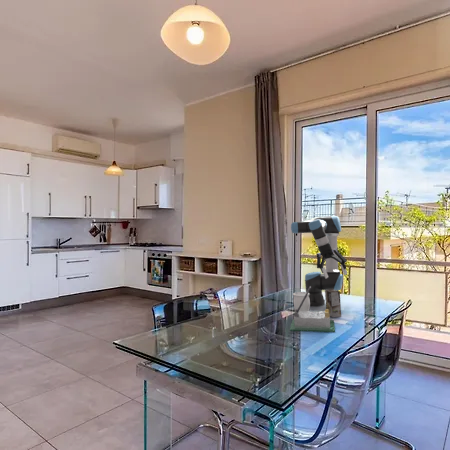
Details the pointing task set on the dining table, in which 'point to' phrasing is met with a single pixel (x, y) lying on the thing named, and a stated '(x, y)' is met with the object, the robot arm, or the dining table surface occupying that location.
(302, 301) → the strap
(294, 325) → the heat sink
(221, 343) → the dining table surface
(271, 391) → the dining table surface
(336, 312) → the coffee box
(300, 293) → the jar
